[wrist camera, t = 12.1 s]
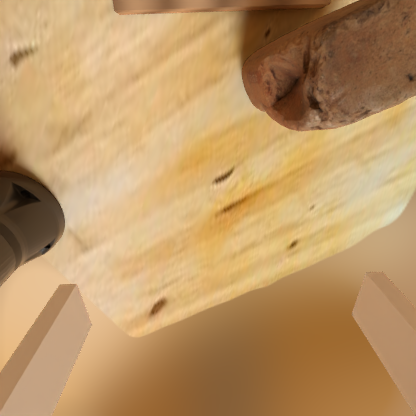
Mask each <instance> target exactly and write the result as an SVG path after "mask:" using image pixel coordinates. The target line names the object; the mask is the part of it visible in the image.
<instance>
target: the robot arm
mask: <svg viewBox="0 0 416 416" xmlns="http://www.w3.org/2000/svg"><path fill="white" fill-rule="evenodd" d="M64 228H65V220H64V215H63V212H62V209H61V207H60V205H59V204H58V202H57V201H56V199H55V198H54V197H53V195H52V194H51V193H50V192H49V191H48V190H47V189H45V188H44V187H43V186H42V185H40V184H39V183H37V182H36V181H34V180H32V179H30V178H28V177H26V176H23V175H21V174H18V173H14V172H8V171H0V286H1V285H2V284H3V283H4V282H5V281H6V280H7V279H8V278H9V277H10V275H11V274H12V273H13V272H14V271H15V270H16V269H17V268H18V267H20V266H21V265H23V264H25V263H27V262H29V261H31V260H33V259H35V258H37V257H39V256H41V255H43V254H45V253H46V252H48V251H49V250H50V249H51V248H52V247H53V246H54V245H55V244H56V243H57V242H58V241H59V239H60V238H61V237H62V235H63V232H64ZM352 315H353V317H354V319H355V320H356V322H357V323H358V325H359V326H360V328H361V330H362V331H363V333H364V334H365V336H366V338H367V339H368V341H369V342H370V344H371V346H372V347H373V349H374V350H375V352H376V354H377V355H378V357H379V358H380V360H381V361H382V363H383V365H384V366H385V368H386V369H387V371H388V373H389V374H390V376H391V378H392V379H393V381H394V382H395V384H396V385H397V387H398V389H399V390H400V392H401V393H402V395H403V397H404V398H405V400H406V401H407V403H408V405H409V406H410V408H411V409H412V411H413V412H414V414H415V416H416V307H415V306H414V305H413V304H412V303H411V302H410V301H409V300H408V299H407V298H406V297H405V295H404V294H403V293H402V292H401V291H400V290H399V289H398V288H397V287H396V286H395V285H394V283H393V282H392V281H390V279H389V278H388V277H387V276H386V275H385V274H384V273H383V272H368V273H366V274H365V277H364V280H363V283H362V286H361V289H360V292H359V295H358V298H357V300H356V304H355V306H354V309H353V312H352ZM91 326H92V324H91V321H90V318H89V315H88V313H87V310H86V307H85V305H84V302H83V299H82V296H81V294H80V291H79V288H78V286H77V284H63V285H59V287H58V288H57V290H56V291H55V293H54V294H53V296H52V297H51V298H50V300H49V301H48V303H47V305H46V306H45V307H44V309H43V310H42V312H41V313H40V315H39V316H38V318H37V319H36V321H35V322H34V324H33V325H32V326H31V328H30V329H29V331H28V332H27V334H26V335H25V337H24V338H23V340H22V341H21V343H20V345H19V346H18V347H17V349H16V350H15V352H14V353H13V354H12V356H11V358H10V359H9V360H8V362H7V363H6V365H5V366H4V368H3V369H2V371H1V372H0V416H52V414H53V412H54V409H55V407H56V405H57V403H58V400H59V398H60V396H61V394H62V391H63V389H64V387H65V384H66V382H67V380H68V378H69V375H70V373H71V371H72V369H73V366H74V364H75V362H76V359H77V357H78V355H79V353H80V351H81V348H82V346H83V344H84V342H85V339H86V337H87V335H88V332H89V330H90V328H91Z"/></svg>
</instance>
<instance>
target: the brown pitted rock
mask: <svg viewBox="0 0 416 416" xmlns="http://www.w3.org/2000/svg"><path fill="white" fill-rule="evenodd" d="M242 79H243V83H244V87H245V90H246V92H247V94H248V96H249V99H250V100H251V102H252V104H253V105H254V106H255V107H256V108H258V109H259V110H261V111H264V112H265V111H266V113H267V114H268V115H269V116H270V117H271V118H272V119H273V120H275V121H276V122H278V123H279V124H280V125H282V126H285V127H287V128H289V129H292V130H296V131H309V130H325V129H334V128H338V127H342V126H345V125H349V124H352V123H355V122H357V121H359V120H362V119H364V118H366V117H368V116H370V115H372V114H376V113H379V112H381V111H383V110H385V109H388V108H391V107H393V106H396V105H398V104H400V103H402V102H403V101H405V100H407V99H408V98H411V97H413V96H416V0H359V1H357V2H354V3H352V4H349V5H347V6H345V7H343V8H341V9H338V10H336V11H334V12H332V13H329V14H327V15H325V16H323V17H321V18H318V19H316V20H314V21H312V22H310V23H307V24H305V25H303V26H302V27H300V28H298V29H296V30H294V31H292V32H290V33H288V34H286V35H284V36H282V37H280V38H278V39H276V40H275V41H273V42H271V43H269V44H267V45H266V46H264V47H262V48H261V49H259V50H258V51H256V52H255V53H253V54H252V55H251V56H250V57H249V58H248V59H247V60H246V62H245V63H244V65H243V68H242Z"/></svg>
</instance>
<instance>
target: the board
mask: <svg viewBox="0 0 416 416" xmlns="http://www.w3.org/2000/svg"><path fill="white" fill-rule="evenodd" d="M113 4H114V11H115V12H117V13H118V14H119V15H126V14H155V13H184V12H213V11H242V10H271V9H300V8H323V7H325V6H326V5H328V4H330V0H113Z"/></svg>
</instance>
